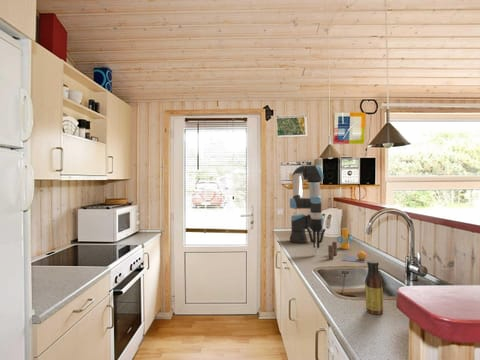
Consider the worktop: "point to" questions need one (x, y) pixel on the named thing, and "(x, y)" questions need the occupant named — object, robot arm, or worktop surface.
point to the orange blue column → (345, 239)
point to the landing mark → (353, 259)
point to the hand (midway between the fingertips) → (316, 252)
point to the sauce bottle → (373, 289)
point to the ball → (361, 255)
